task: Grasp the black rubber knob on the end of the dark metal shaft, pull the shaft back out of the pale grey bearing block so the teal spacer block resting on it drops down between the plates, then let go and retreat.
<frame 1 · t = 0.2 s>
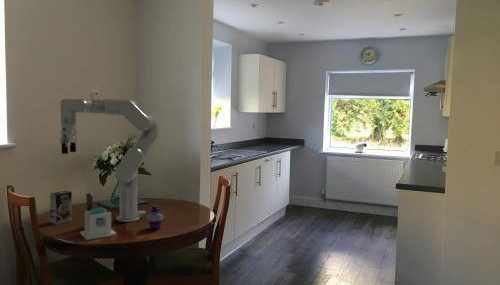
hand: (68, 152, 222), 37 cm above the table, tool pointing down, fingers open, 9 cm apart
potion bottle: (154, 229, 210), on the table
coffee box: (61, 222, 219), on the table
shaft: (94, 208, 202), point 12 cm above the table, slide at 0.0 cm, touching spacer
spacer: (97, 217, 198), point 8 cm above the table, touching shaft
bearing block: (98, 234, 199), on the table
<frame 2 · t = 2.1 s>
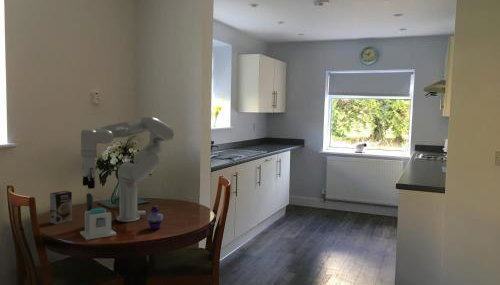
hand: (88, 186, 208), 21 cm above the table, tool pointing down, fingers open, 9 cm apart
nothing on the table moved.
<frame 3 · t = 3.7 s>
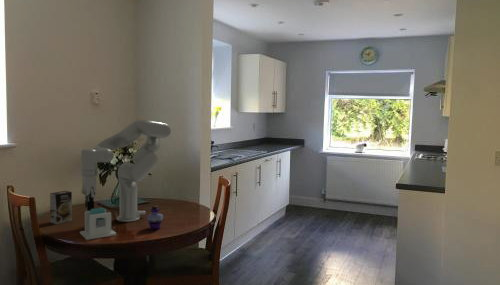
hand: (89, 207, 210), 10 cm above the table, tool pointing down, fingers closed on shaft, 3 cm apart
shaft: (94, 208, 202), point 12 cm above the table, slide at 0.0 cm, touching gripper, spacer
everything else where it was.
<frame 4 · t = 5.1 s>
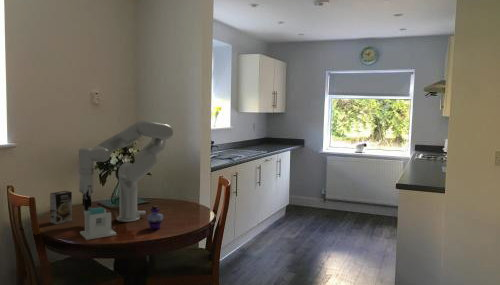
hand: (86, 205, 214), 10 cm above the table, tool pointing down, fingers closed on shaft, 3 cm apart
shaft: (91, 206, 206), point 12 cm above the table, slide at 5.4 cm, touching gripper
spacer: (97, 216, 199), point 9 cm above the table
everything else where it was.
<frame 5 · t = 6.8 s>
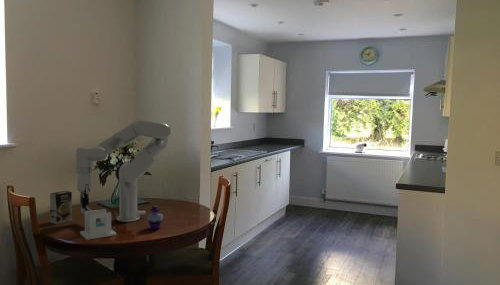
hand: (84, 203, 218), 10 cm above the table, tool pointing down, fingers closed on shaft, 3 cm apart
shaft: (89, 204, 210), point 12 cm above the table, slide at 10.0 cm, touching gripper
spacer: (96, 227, 200), point 3 cm above the table, tilted 90°, touching bearing block
everything else where it was.
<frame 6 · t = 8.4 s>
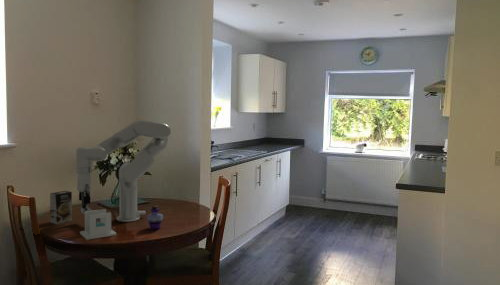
hand: (84, 201, 217), 11 cm above the table, tool pointing down, fingers open, 9 cm apart
shaft: (89, 204, 210), point 12 cm above the table, slide at 10.0 cm
everything else where it was.
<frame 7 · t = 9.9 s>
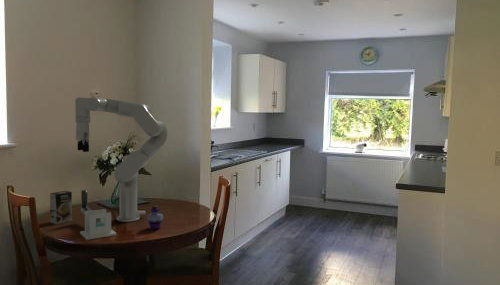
hand: (83, 150, 224), 38 cm above the table, tool pointing down, fingers open, 9 cm apart
nothing on the table moved.
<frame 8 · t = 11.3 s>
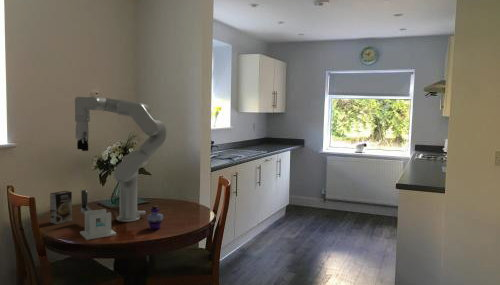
hand: (82, 150, 225), 38 cm above the table, tool pointing down, fingers open, 9 cm apart
nothing on the table moved.
at the end: shaft slide at 10.0 cm; spacer point 3.0 cm above the table; spacer inside the target area on the bearing block (1.7 cm from its centre), point 3.0 cm above the bearing block's base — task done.
